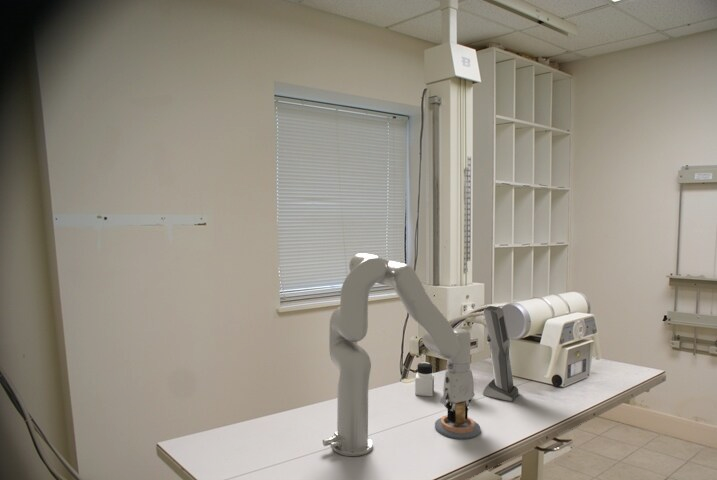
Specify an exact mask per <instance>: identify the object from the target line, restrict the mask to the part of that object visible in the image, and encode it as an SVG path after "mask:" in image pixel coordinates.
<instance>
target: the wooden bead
mask: <svg viewBox="0 0 717 480" xmlns="http://www.w3.org/2000/svg"><path fill="white" fill-rule="evenodd" d="M451 404H452V403H450V405H451ZM454 411H455V423H453V422H451V421H450V422H451V423H452V424H455V425H463V424H465V401H463V402H459V403H455V408H454Z"/></svg>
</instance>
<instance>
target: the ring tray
mask: <svg viewBox="0 0 717 480" xmlns="http://www.w3.org/2000/svg"><path fill="white" fill-rule="evenodd" d="M447 415H448V414H447ZM447 415H444V416H442V417H440V418H437V420H436V421H435V422H434V429H435V431H436V432H437V433H439V434H440V435H442V436H444V437H447V438H450V439H454V440H456V439H457V440H470V439H474V438H476V437H478V436H479V435H480V434H481V426H480V424H479V423H478V422H476V421H475V420H473V419H472V418H471V417H469V416H468V417H467V419H465V424H463V425H455V424H452V423H451V422H450V421H449V420H448V419H447Z"/></svg>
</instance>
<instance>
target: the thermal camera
mask: <svg viewBox="0 0 717 480" xmlns="http://www.w3.org/2000/svg"><path fill="white" fill-rule="evenodd" d="M483 316H484V321H485V326H486V332H487V336H486V344H488V345H489V346H490V355H491V363H492V370H493V376H494V378H493V379H492V380H491V381H490V382H489V383H488V384H487V385H486V386H485V387H484V389H483V391H482V394H483V396H485V397H488V398H491V399H497V400H502V401H506V402H512V403H513V402H514V400H515V399H516V398H517V396H518V395H519V389H518V387H517V386H515V385H514V379H513V373H512V372H513V371H512V365H511V358H510V353H509V351H510V347H511V346H510V344H511V343H510V337H509V333H508V328H507V323H506V318H505V313H504V310H503V308H501V307H499V306H493V305H489V306H487V307H486V308H483Z"/></svg>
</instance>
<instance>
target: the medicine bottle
mask: <svg viewBox="0 0 717 480" xmlns="http://www.w3.org/2000/svg"><path fill="white" fill-rule="evenodd" d="M416 369H417V372H416V374H415V378H414V379H415V382H414V383H415V384H414V388H415V389H414V393H415V395H414V396H420V397H421V396H424V397H433V396H434V388H435V385H434V383H435V381H434V380H435V373H433V365H432V363H430V362H419V363H418V364H417V368H416Z"/></svg>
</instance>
